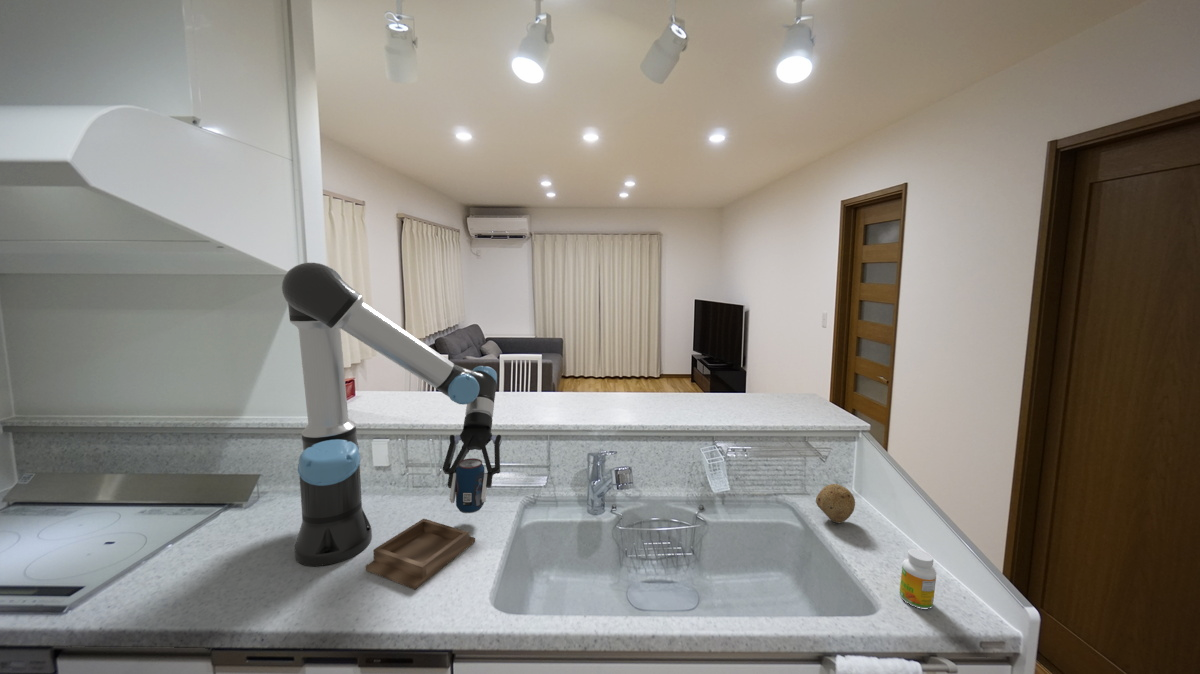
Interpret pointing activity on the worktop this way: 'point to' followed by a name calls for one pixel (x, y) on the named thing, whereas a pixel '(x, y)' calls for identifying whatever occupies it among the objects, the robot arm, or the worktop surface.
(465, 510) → the soda can
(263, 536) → the worktop surface
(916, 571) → the supplement bottle
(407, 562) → the wooden tray
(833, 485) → the brown rounded lump
